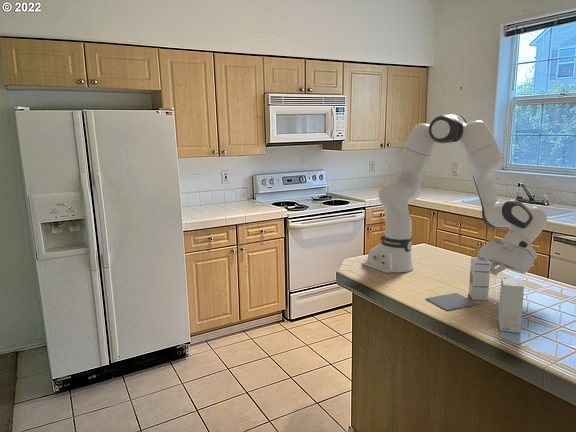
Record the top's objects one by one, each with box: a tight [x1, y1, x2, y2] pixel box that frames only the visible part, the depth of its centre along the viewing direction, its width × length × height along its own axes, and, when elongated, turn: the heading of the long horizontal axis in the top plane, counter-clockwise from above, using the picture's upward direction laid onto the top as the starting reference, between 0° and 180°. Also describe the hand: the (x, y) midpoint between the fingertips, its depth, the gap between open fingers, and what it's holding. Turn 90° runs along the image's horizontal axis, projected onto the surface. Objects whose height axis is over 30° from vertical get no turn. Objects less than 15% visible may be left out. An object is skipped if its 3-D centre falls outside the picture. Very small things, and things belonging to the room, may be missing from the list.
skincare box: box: [497, 277, 525, 334], centre depth 134 cm, size 8×6×15 cm
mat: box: [425, 292, 480, 312], centre depth 155 cm, size 11×14×1 cm
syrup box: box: [468, 256, 491, 301], centre depth 158 cm, size 6×6×14 cm
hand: (491, 273), depth 160 cm, fingers closed
